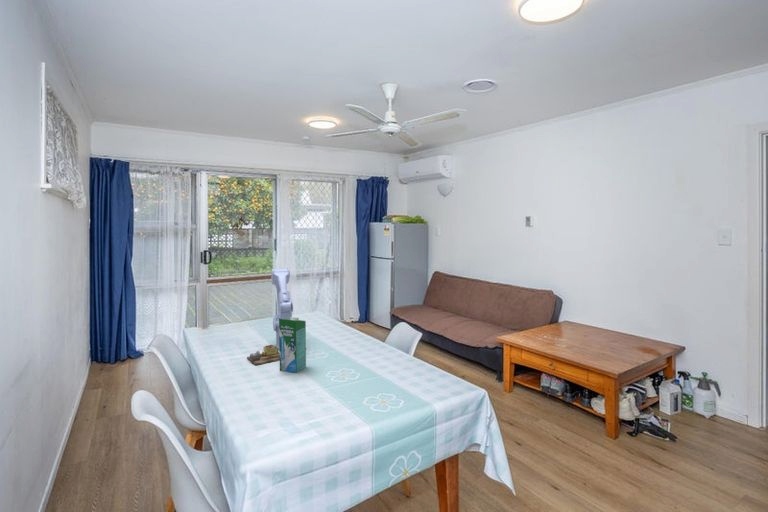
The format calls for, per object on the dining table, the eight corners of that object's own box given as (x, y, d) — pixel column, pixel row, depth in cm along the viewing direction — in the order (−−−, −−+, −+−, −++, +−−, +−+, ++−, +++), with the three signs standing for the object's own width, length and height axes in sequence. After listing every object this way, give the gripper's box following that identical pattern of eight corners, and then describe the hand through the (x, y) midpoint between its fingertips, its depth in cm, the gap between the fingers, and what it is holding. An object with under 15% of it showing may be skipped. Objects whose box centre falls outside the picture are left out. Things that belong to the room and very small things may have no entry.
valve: (275, 353, 208) (275, 343, 207) (278, 355, 205) (278, 344, 204) (261, 356, 203) (261, 345, 203) (264, 358, 200) (264, 347, 200)
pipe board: (276, 352, 212) (276, 343, 212) (286, 359, 203) (286, 349, 203) (247, 358, 203) (246, 349, 202) (255, 365, 193) (255, 355, 193)
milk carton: (306, 366, 193) (305, 316, 191) (296, 373, 184) (295, 320, 182) (290, 364, 196) (289, 314, 194) (279, 370, 187) (278, 318, 185)
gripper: (284, 320, 216) (284, 345, 217) (273, 327, 202) (273, 353, 203) (296, 321, 215) (297, 345, 216) (286, 328, 201) (286, 354, 202)
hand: (286, 349), depth 209 cm, fingers closed
